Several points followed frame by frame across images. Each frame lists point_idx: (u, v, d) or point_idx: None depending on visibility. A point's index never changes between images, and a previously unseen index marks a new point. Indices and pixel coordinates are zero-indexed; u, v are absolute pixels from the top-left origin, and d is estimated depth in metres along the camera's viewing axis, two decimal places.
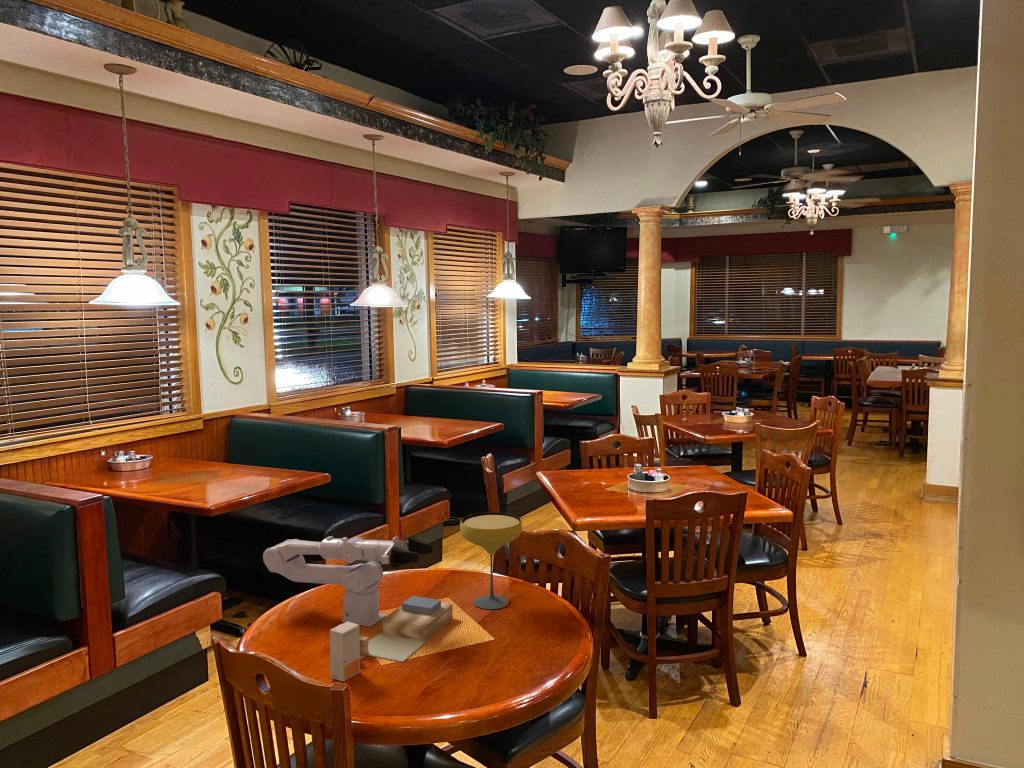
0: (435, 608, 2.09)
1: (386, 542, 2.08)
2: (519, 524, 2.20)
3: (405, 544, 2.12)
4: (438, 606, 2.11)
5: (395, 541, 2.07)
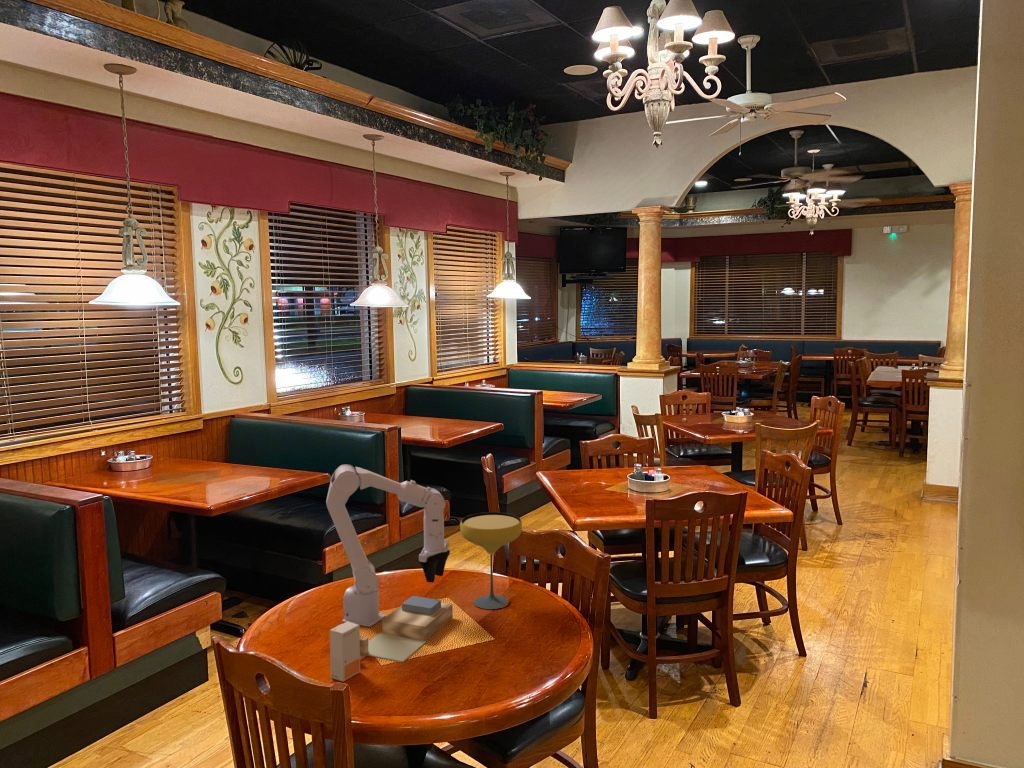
0: (435, 608, 2.09)
1: (441, 542, 2.15)
2: (519, 524, 2.20)
3: None
4: (438, 606, 2.11)
5: (442, 551, 2.16)
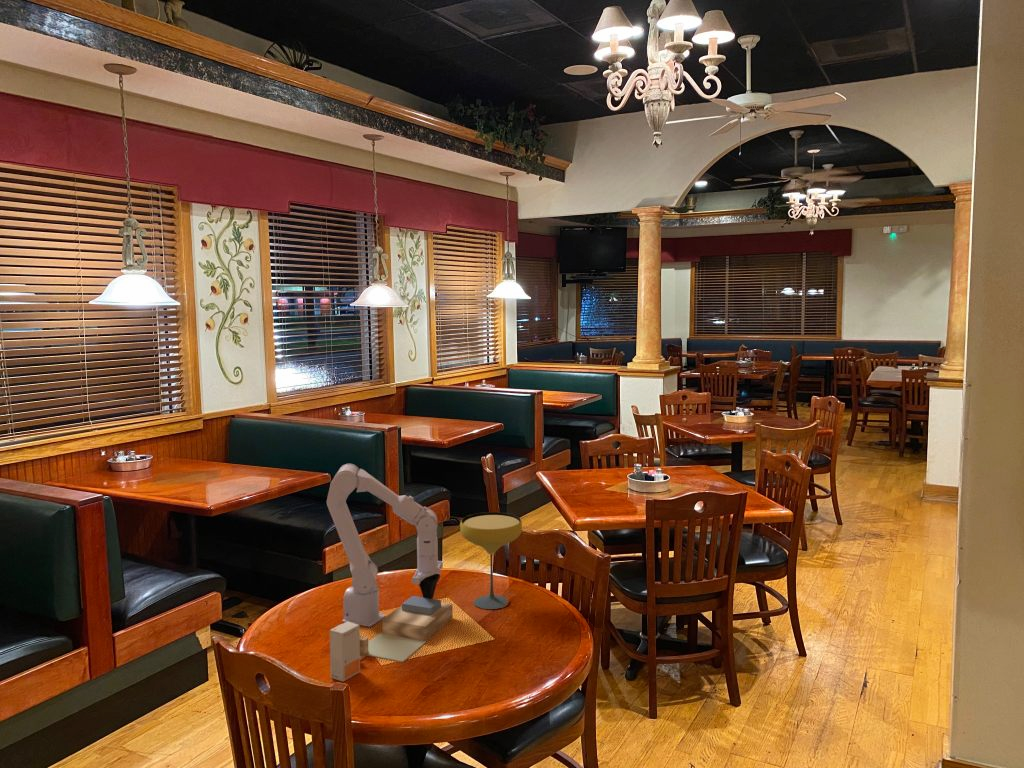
0: (435, 608, 2.09)
1: (434, 563, 2.12)
2: (519, 524, 2.20)
3: None
4: (438, 606, 2.11)
5: (436, 573, 2.12)
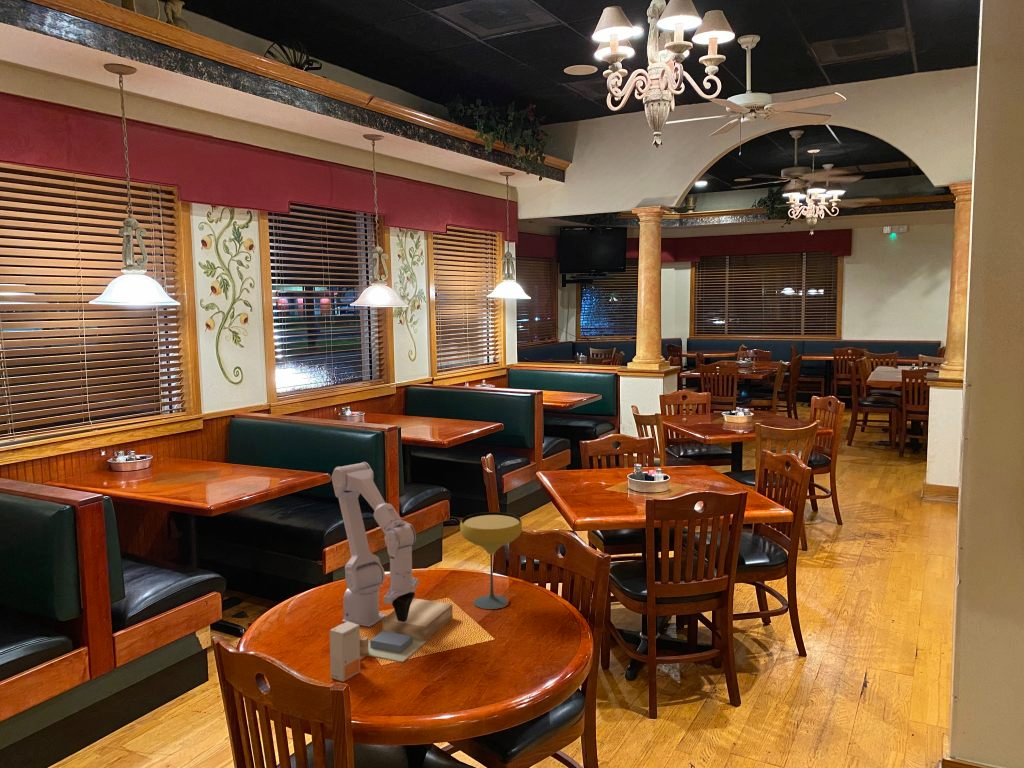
0: (407, 643, 1.96)
1: (408, 581, 1.99)
2: (519, 524, 2.20)
3: None
4: (404, 646, 1.94)
5: None
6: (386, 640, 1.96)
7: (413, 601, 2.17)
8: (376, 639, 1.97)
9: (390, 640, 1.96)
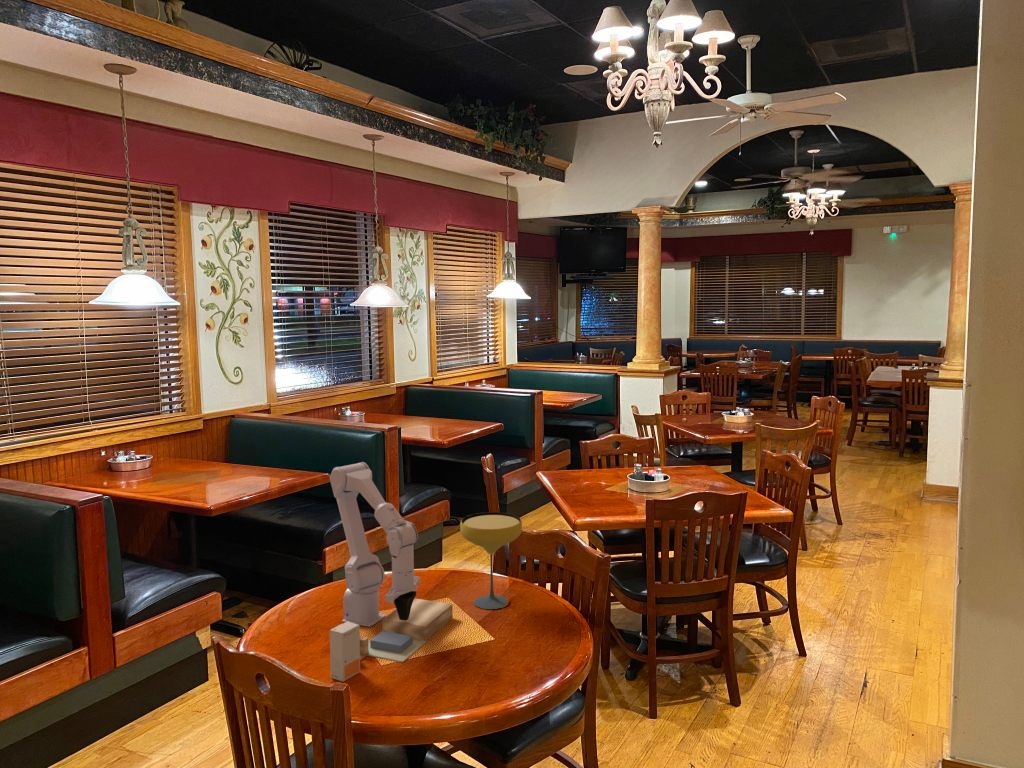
0: (407, 643, 1.96)
1: (410, 580, 2.00)
2: (519, 524, 2.20)
3: None
4: (404, 646, 1.94)
5: None
6: (386, 640, 1.96)
7: (413, 601, 2.17)
8: (376, 639, 1.97)
9: (390, 640, 1.96)
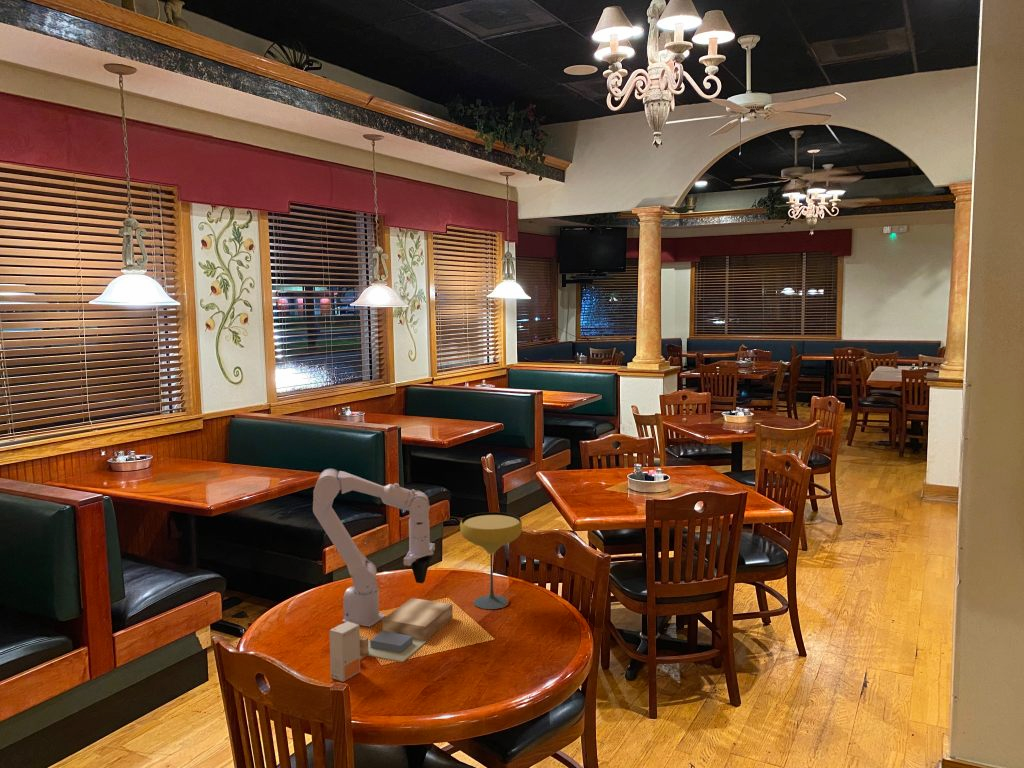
0: (407, 643, 1.96)
1: (426, 545, 2.13)
2: (519, 524, 2.20)
3: None
4: (404, 646, 1.94)
5: None
6: (386, 640, 1.96)
7: (413, 601, 2.17)
8: (376, 639, 1.97)
9: (390, 640, 1.96)
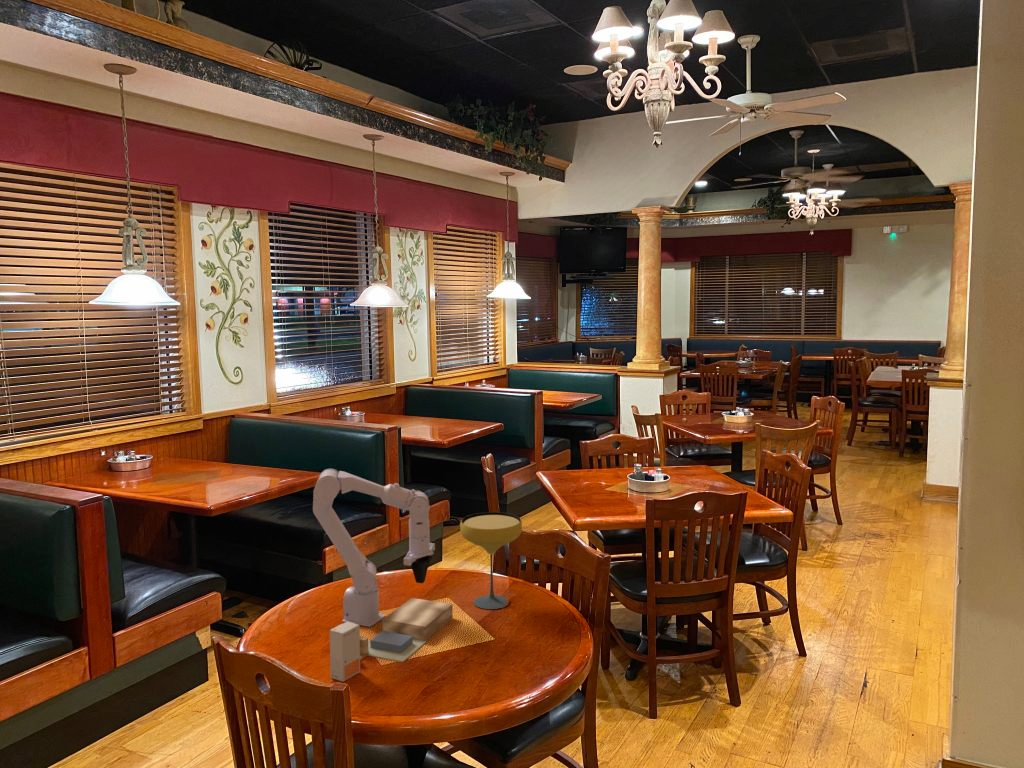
0: (407, 643, 1.96)
1: (426, 545, 2.13)
2: (519, 524, 2.20)
3: None
4: (404, 646, 1.94)
5: None
6: (386, 640, 1.96)
7: (413, 601, 2.17)
8: (376, 639, 1.97)
9: (390, 640, 1.96)
